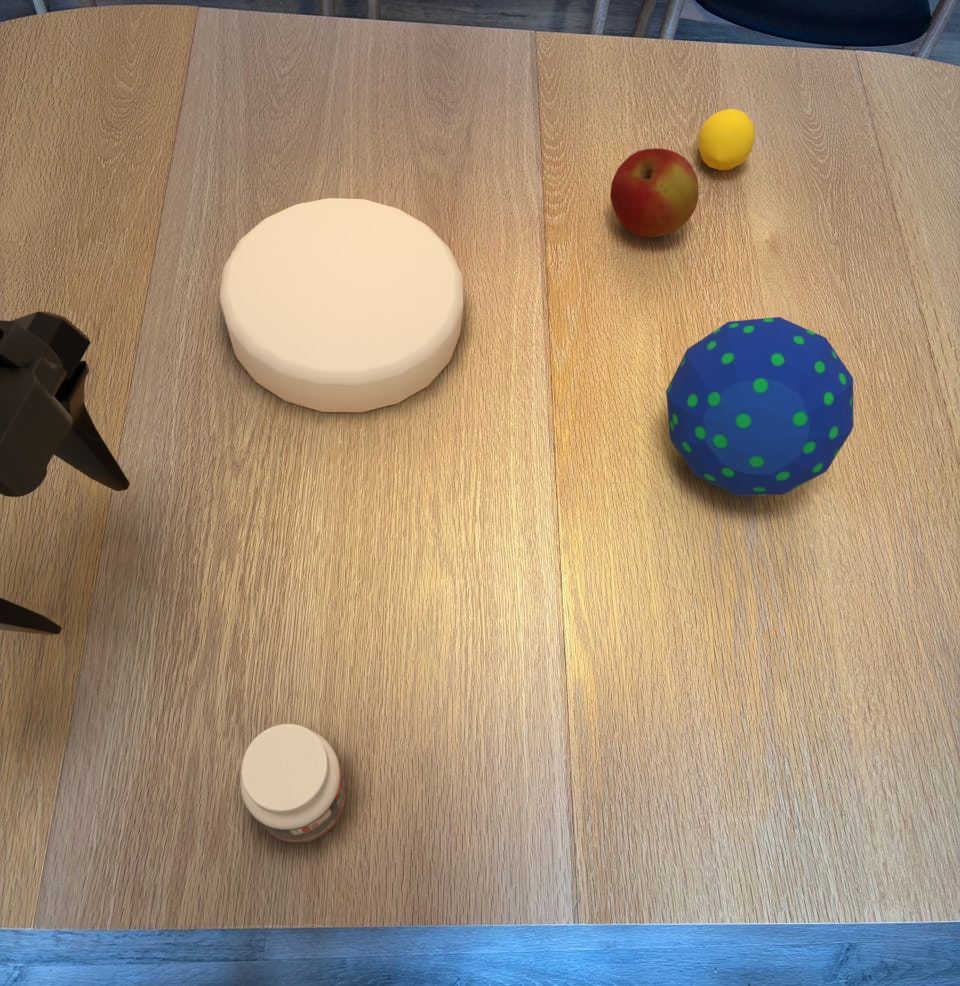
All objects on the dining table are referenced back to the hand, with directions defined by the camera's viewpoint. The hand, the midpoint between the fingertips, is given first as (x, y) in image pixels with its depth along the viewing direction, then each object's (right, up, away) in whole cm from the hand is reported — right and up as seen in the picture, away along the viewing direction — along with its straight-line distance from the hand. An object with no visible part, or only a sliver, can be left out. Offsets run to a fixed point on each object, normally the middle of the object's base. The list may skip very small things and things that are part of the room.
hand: (91, 556), depth 48 cm
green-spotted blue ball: (+42, +7, +23) cm, 49 cm away
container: (+10, +19, +26) cm, 34 cm away
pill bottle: (+10, -16, +8) cm, 21 cm away
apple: (+37, +29, +35) cm, 59 cm away
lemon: (+46, +37, +40) cm, 71 cm away
